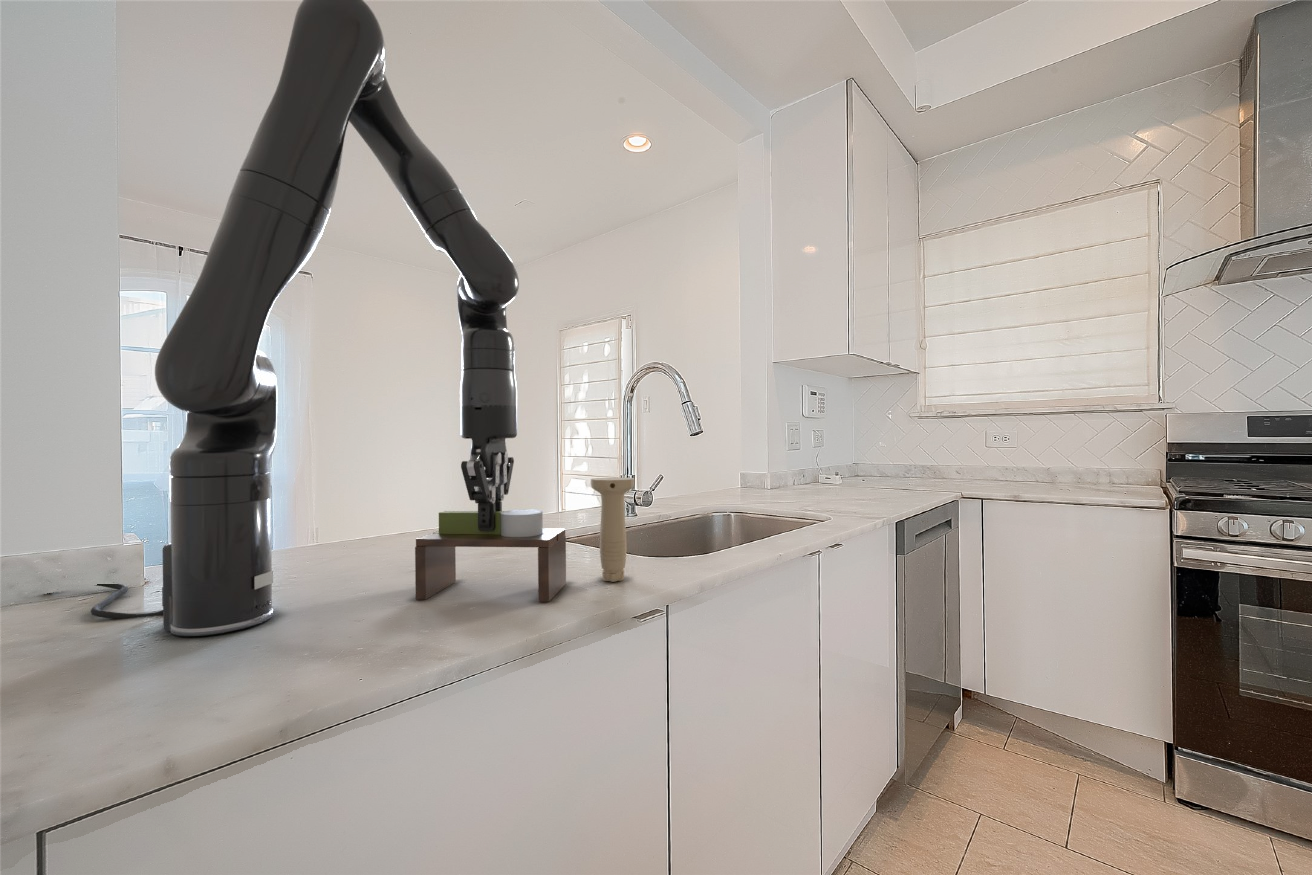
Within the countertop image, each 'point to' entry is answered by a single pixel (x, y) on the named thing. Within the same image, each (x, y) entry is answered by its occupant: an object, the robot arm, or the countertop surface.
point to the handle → (612, 525)
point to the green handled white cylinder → (505, 522)
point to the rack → (439, 549)
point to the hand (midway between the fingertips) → (490, 528)
